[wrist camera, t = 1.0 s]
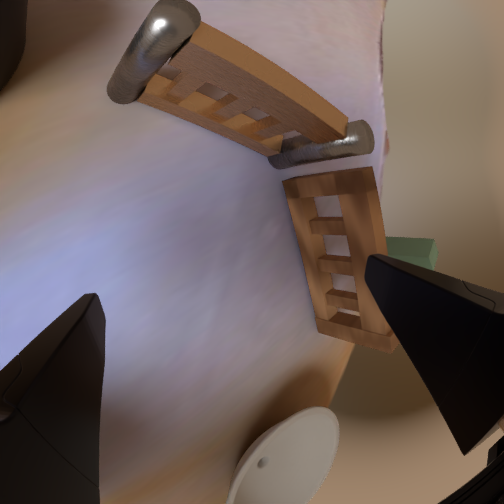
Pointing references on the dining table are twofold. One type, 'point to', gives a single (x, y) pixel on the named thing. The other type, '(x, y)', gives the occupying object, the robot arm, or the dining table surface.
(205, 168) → the dining table surface
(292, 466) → the dish
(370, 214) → the gate
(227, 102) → the wooden fence panel
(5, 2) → the mug
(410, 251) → the post
